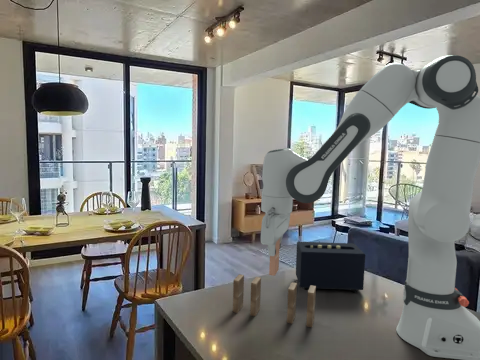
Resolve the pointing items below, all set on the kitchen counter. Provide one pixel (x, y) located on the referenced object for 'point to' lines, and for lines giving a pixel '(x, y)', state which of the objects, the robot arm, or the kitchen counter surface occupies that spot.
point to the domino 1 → (238, 293)
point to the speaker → (330, 265)
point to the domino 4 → (291, 302)
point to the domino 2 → (255, 296)
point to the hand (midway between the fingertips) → (274, 252)
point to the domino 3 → (274, 260)
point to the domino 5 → (311, 306)
